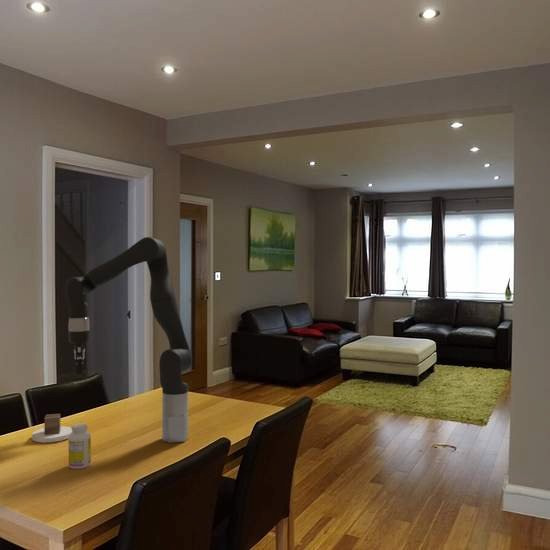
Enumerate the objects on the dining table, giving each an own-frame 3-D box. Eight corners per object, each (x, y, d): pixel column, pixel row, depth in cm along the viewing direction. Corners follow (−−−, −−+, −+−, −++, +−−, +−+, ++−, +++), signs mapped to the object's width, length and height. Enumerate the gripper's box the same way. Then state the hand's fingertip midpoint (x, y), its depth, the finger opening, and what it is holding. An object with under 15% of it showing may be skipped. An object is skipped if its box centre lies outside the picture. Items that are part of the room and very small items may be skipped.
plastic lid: (72, 431, 206) (72, 424, 206) (73, 442, 193) (73, 435, 193) (33, 435, 201) (33, 428, 201) (30, 447, 188) (30, 440, 188)
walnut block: (59, 433, 195) (59, 417, 195) (44, 434, 193) (44, 418, 193) (60, 429, 200) (60, 413, 200) (45, 430, 198) (45, 414, 198)
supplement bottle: (83, 460, 174) (83, 421, 174) (95, 465, 170) (95, 425, 170) (64, 466, 169) (64, 425, 169) (75, 471, 165) (75, 429, 164)
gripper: (89, 330, 198) (90, 374, 198) (89, 327, 211) (90, 368, 211) (67, 332, 195) (68, 376, 195) (69, 328, 209) (69, 369, 209)
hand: (79, 372), depth 203 cm, fingers open, 8 cm apart
